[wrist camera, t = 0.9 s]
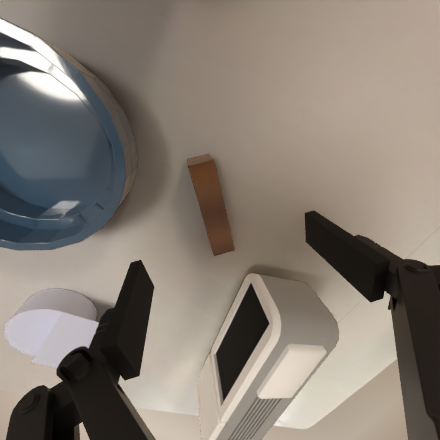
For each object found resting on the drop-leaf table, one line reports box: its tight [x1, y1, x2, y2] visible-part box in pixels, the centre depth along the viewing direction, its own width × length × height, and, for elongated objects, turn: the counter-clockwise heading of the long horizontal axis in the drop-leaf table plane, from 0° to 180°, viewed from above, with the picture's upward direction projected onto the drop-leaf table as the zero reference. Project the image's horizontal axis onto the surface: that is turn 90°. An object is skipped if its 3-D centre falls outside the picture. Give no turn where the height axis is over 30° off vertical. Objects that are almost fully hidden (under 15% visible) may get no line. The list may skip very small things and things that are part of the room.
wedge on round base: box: [4, 289, 99, 368], centre depth 27 cm, size 9×7×13 cm
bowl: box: [0, 18, 137, 250], centre depth 18 cm, size 17×17×6 cm
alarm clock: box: [198, 273, 339, 440], centre depth 32 cm, size 27×9×12 cm, turn 161°
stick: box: [187, 154, 235, 256], centre depth 24 cm, size 11×3×4 cm, turn 13°
